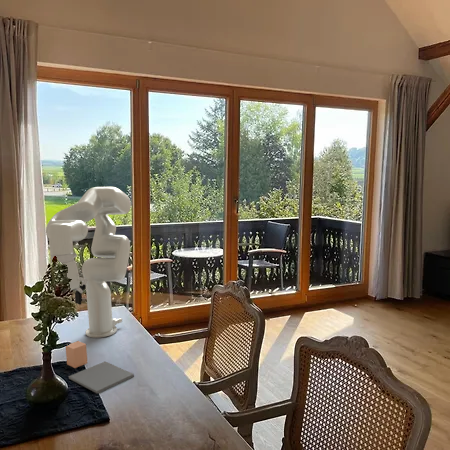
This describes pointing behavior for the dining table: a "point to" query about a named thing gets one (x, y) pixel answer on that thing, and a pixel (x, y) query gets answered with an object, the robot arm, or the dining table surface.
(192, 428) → the dining table surface
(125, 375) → the mat
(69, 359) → the block
